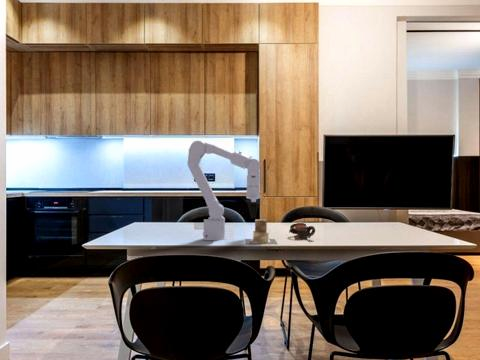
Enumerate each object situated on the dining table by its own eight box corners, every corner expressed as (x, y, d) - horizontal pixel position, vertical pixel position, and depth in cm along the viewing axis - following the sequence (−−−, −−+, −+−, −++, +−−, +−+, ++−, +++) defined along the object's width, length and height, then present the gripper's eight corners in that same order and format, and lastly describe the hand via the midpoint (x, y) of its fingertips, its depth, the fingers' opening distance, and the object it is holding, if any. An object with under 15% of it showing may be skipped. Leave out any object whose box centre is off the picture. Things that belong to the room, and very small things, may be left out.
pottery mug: (288, 241, 182) (285, 224, 186) (294, 247, 190) (291, 231, 194) (314, 236, 178) (311, 218, 182) (319, 242, 186) (317, 225, 190)
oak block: (253, 242, 173) (254, 232, 173) (253, 239, 179) (253, 230, 179) (268, 242, 173) (268, 232, 173) (267, 239, 179) (267, 230, 179)
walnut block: (255, 232, 174) (255, 220, 174) (255, 230, 178) (255, 219, 178) (266, 232, 174) (266, 220, 174) (265, 230, 178) (265, 219, 178)
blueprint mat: (245, 245, 169) (245, 243, 169) (244, 240, 182) (244, 238, 182) (277, 245, 169) (277, 244, 169) (274, 240, 182) (274, 238, 182)
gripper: (263, 187, 175) (262, 219, 175) (261, 185, 190) (261, 215, 190) (246, 187, 175) (246, 219, 175) (246, 185, 190) (245, 215, 190)
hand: (252, 217), depth 183 cm, fingers open, 7 cm apart
